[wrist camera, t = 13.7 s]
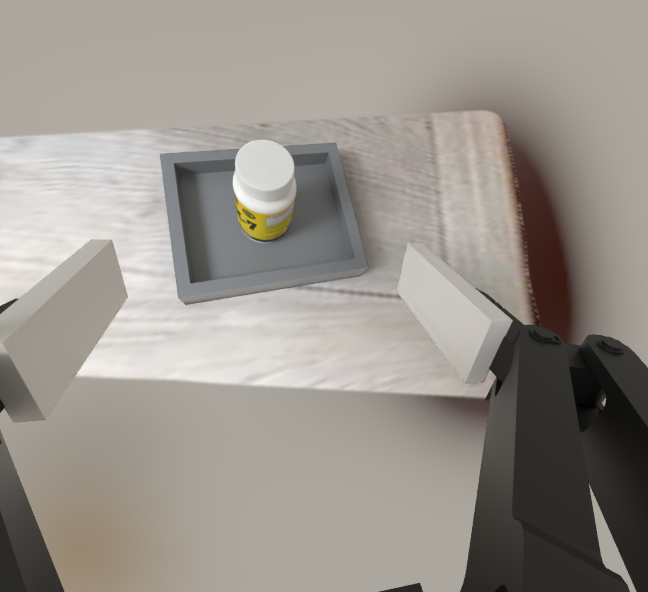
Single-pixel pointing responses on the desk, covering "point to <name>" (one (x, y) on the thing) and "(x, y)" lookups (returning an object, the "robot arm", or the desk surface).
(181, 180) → the tray
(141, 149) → the desk surface
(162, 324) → the desk surface
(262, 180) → the supplement bottle
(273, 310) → the desk surface
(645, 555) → the robot arm
